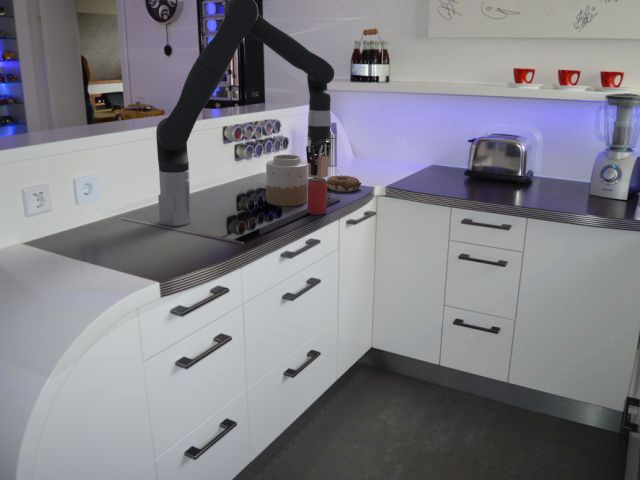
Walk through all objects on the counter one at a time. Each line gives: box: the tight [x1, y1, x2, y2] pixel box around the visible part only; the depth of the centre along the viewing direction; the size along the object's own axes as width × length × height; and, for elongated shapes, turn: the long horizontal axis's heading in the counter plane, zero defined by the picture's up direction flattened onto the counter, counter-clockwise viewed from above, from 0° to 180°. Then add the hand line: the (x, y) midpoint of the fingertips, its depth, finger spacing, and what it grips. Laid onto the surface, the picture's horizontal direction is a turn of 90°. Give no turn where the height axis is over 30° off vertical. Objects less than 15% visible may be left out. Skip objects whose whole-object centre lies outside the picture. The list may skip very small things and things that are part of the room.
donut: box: [326, 174, 362, 193], centre depth 245 cm, size 14×14×5 cm
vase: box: [265, 154, 309, 207], centre depth 222 cm, size 15×15×17 cm
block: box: [307, 154, 329, 179], centre depth 205 cm, size 5×5×7 cm
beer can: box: [307, 177, 328, 216], centre depth 209 cm, size 7×7×12 cm
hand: (317, 173), depth 206 cm, fingers closed on block, 5 cm apart
